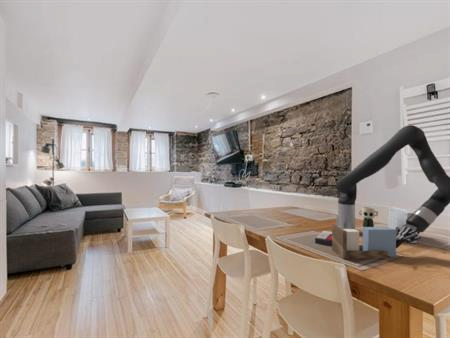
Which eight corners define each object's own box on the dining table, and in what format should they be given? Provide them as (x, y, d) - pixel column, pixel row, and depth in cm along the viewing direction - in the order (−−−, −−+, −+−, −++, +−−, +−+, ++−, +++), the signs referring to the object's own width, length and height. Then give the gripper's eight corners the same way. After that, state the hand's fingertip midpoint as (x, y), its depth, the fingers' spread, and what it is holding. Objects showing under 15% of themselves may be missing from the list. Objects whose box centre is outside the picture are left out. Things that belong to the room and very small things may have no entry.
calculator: (314, 236, 124) (322, 229, 136) (314, 245, 124) (322, 236, 136) (337, 240, 117) (343, 232, 129) (337, 249, 118) (344, 240, 129)
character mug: (358, 227, 156) (358, 208, 156) (358, 225, 162) (358, 206, 162) (378, 229, 151) (378, 209, 151) (377, 227, 157) (377, 207, 157)
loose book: (389, 253, 109) (389, 227, 109) (395, 256, 105) (395, 229, 105) (362, 253, 109) (362, 227, 109) (368, 256, 105) (368, 229, 105)
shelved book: (354, 252, 110) (354, 229, 110) (359, 256, 105) (359, 231, 105) (339, 252, 110) (339, 228, 110) (343, 256, 105) (343, 231, 105)
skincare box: (418, 243, 123) (418, 213, 123) (406, 243, 124) (406, 212, 124) (397, 233, 144) (397, 206, 144) (387, 232, 145) (387, 206, 145)
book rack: (374, 250, 113) (374, 225, 113) (389, 259, 102) (389, 231, 102) (332, 250, 113) (332, 225, 113) (343, 259, 102) (343, 231, 102)
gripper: (404, 210, 113) (378, 236, 114) (427, 216, 100) (397, 245, 100) (415, 221, 113) (389, 247, 114) (440, 228, 100) (410, 257, 100)
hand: (393, 246), depth 107 cm, fingers closed
